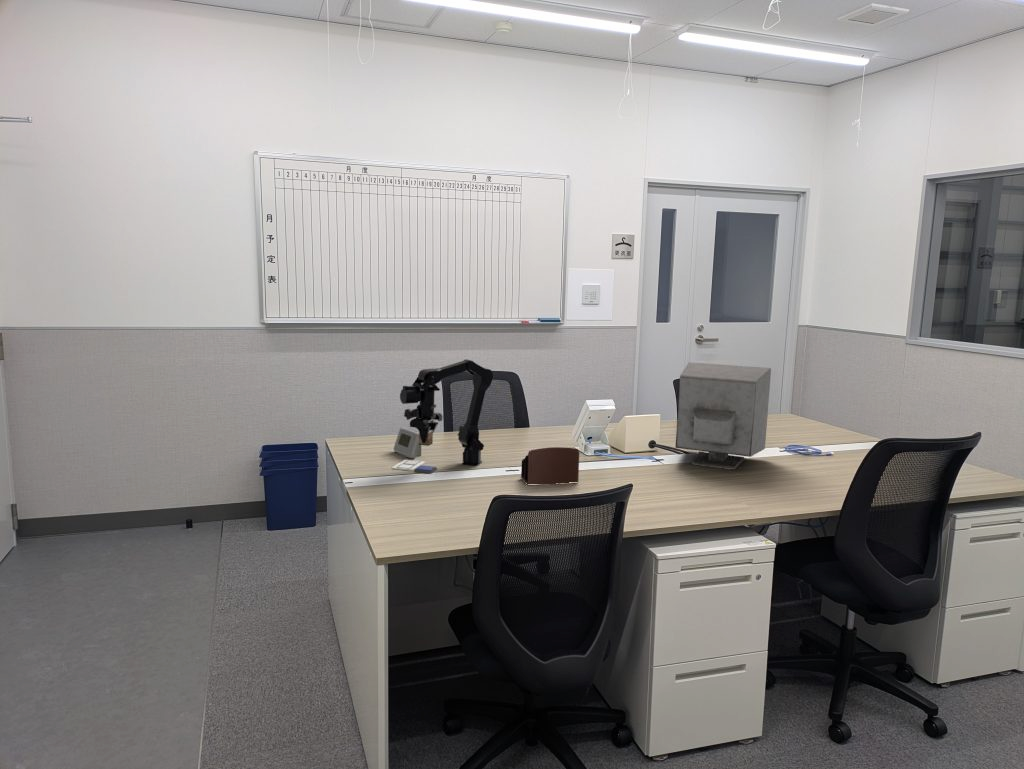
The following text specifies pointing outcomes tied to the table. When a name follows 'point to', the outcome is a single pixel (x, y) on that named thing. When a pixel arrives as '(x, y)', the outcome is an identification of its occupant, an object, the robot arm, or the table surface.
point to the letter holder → (551, 466)
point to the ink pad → (425, 469)
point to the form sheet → (408, 465)
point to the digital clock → (407, 443)
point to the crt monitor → (722, 412)
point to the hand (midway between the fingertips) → (425, 441)
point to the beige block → (428, 440)
